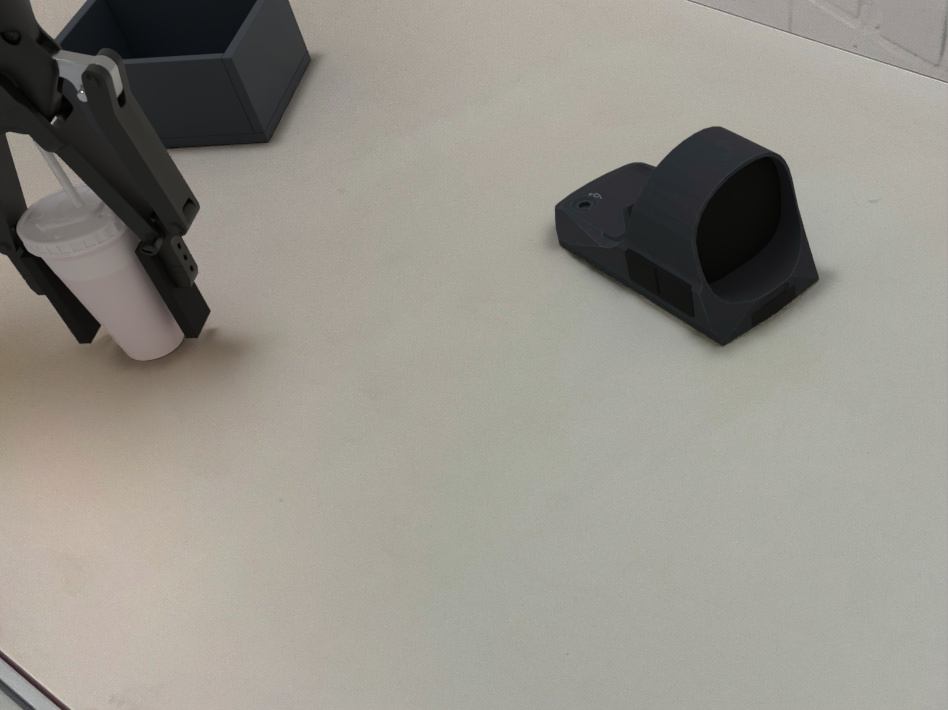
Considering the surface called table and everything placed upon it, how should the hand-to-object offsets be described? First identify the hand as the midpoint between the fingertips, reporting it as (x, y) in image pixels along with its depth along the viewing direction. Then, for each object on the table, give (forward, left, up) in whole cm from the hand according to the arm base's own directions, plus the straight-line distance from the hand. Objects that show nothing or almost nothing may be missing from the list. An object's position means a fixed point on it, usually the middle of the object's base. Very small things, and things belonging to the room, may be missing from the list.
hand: (145, 326), depth 69 cm
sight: (+34, +6, -1) cm, 35 cm away
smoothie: (0, 0, -1) cm, 1 cm away
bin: (-7, +31, -1) cm, 32 cm away
